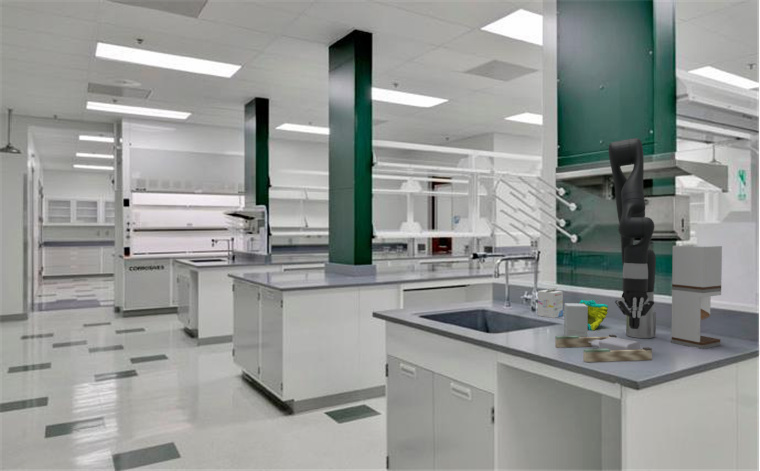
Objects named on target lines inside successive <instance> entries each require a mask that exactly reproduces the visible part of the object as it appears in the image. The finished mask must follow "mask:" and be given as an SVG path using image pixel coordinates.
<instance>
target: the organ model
mask: <svg viewBox="0 0 760 471" xmlns="http://www.w3.org/2000/svg"><path fill="white" fill-rule="evenodd" d="M578 304H585V305H586V306H588V331H591V332H592V331H595V330H596V329H598V328H599V326H600V325H601V324H602V323H603V321H604V320H605V319H606V318H607V315H608V309H609V305H608V304H606V303H597V302H596V301H595V300H594V299H590V300H585V299H581V300H580V301H579V302H578Z"/></svg>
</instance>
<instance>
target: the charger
mask: <svg viewBox="0 0 760 471" xmlns="http://www.w3.org/2000/svg"><path fill="white" fill-rule="evenodd" d="M588 343H591V345H592V346H593V348H596V349H610V350H639V349H641V342H640V341H637V340H630V339H626V338H620V337H617V338H615V337H610V338H606V339H603V340H598V339H597V340H594V341H591V342H589V341H588Z"/></svg>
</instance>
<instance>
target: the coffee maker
mask: <svg viewBox="0 0 760 471" xmlns="http://www.w3.org/2000/svg"><path fill="white" fill-rule="evenodd" d="M722 255H723V246H722V245H717V246H715V245H714V246H713V245H712V246H695V245H694V244H691V245H689V244H688V245H685V244H683V245H681V244H680V245H672V262H671V264H672V271H671V272H672V273H671V277H672V278H671V279H672V280H671V334H670V335H671V338H670V339H671V344H672V343H673V344H677V345H682V346H687V347H691V348H696V349H699V350H700V349H701V350H704V349H709V348H713V347H717V346H721V339H720V338H717V337H710V336H705V335H701V321H703V320H706V319H709V318H710V317H711V302H712V301H711V297H714V296H722V270H723V269H722V266H723V264H722V262H723V260H722V258H723V256H722Z"/></svg>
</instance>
